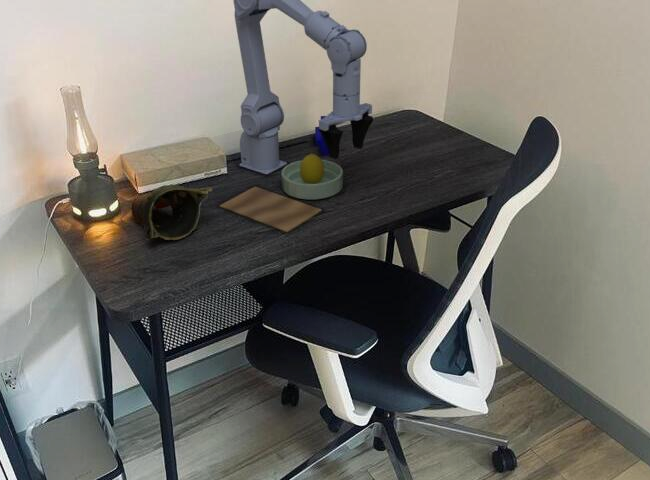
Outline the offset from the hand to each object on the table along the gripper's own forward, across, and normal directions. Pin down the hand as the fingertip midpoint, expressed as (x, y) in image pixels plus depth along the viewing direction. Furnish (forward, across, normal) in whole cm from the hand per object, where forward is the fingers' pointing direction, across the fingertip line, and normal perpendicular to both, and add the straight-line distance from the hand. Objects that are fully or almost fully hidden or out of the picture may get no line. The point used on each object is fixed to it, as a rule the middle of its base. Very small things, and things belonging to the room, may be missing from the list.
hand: (345, 152), depth 149 cm
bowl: (+10, -3, +8) cm, 13 cm away
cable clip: (+10, +16, +24) cm, 31 cm away
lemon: (+10, -3, +8) cm, 13 cm away
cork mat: (+10, -17, +7) cm, 21 cm away
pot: (+10, -38, +15) cm, 42 cm away
